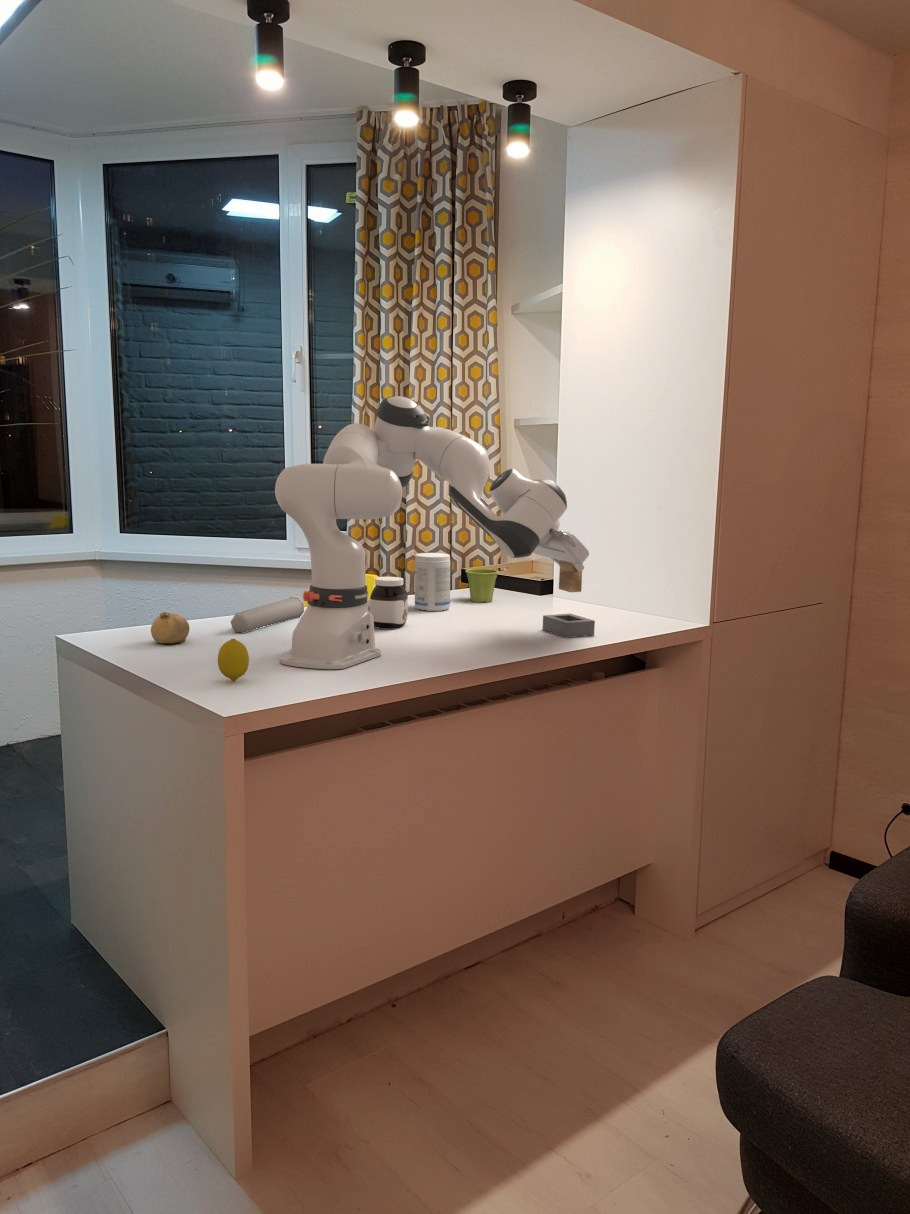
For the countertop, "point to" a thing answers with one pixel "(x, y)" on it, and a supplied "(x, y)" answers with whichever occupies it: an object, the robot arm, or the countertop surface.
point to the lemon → (233, 659)
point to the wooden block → (569, 578)
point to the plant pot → (481, 584)
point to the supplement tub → (432, 581)
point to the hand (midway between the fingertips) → (573, 567)
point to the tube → (267, 614)
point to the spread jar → (388, 603)
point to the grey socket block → (568, 625)
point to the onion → (169, 628)
